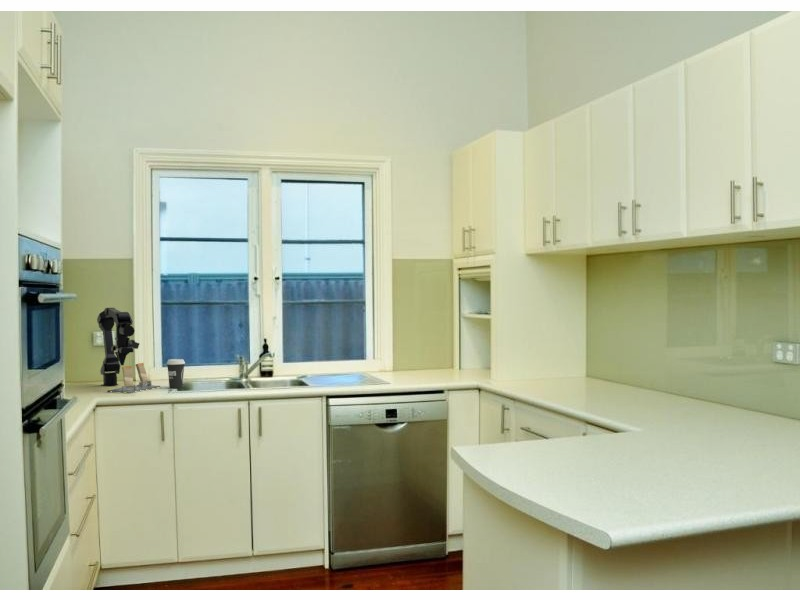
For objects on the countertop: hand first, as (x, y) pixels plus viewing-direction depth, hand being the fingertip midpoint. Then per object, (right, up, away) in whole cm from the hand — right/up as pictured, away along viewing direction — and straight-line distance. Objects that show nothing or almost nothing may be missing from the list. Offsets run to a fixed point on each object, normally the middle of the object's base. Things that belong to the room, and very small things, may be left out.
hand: (122, 365), depth 352 cm
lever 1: (+8, -11, -12) cm, 18 cm away
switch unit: (+7, -13, -3) cm, 15 cm away
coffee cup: (+27, -13, +4) cm, 30 cm away
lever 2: (+10, -10, +5) cm, 15 cm away
